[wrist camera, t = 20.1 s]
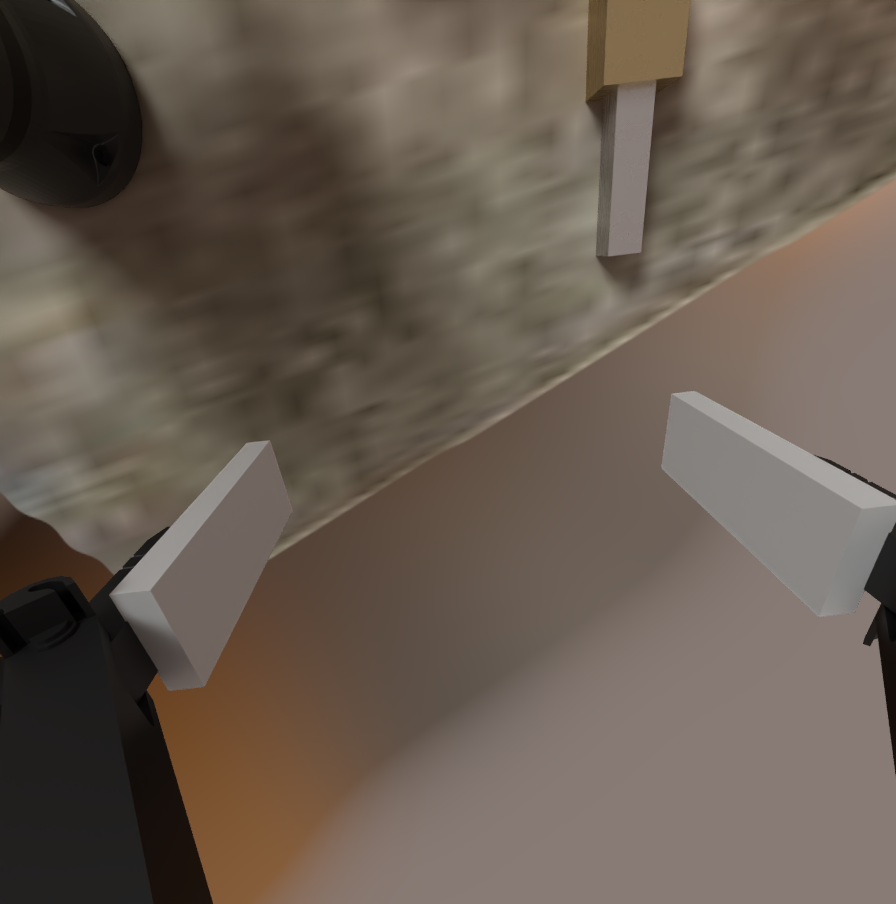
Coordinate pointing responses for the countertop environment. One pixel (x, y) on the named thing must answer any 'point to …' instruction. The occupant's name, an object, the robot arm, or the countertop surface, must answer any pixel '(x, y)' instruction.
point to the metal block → (629, 104)
